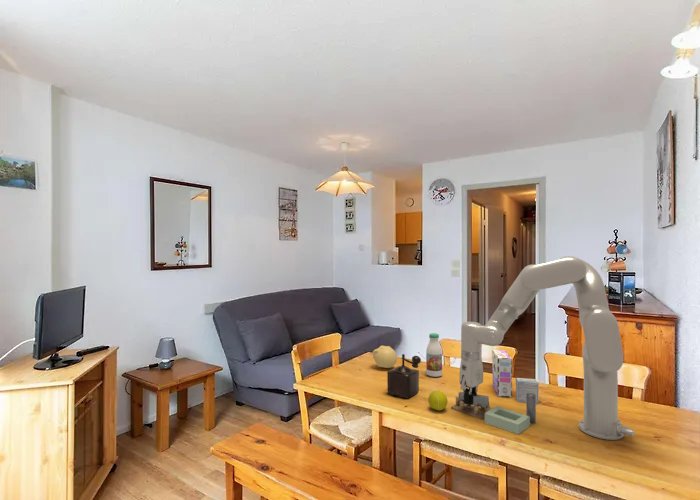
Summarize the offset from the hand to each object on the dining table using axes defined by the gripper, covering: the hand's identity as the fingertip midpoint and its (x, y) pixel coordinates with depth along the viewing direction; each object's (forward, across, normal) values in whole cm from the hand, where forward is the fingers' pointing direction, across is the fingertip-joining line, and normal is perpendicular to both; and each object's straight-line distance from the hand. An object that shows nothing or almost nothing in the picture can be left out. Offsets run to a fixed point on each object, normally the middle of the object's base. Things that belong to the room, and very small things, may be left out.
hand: (470, 402), depth 145 cm
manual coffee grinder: (+4, -4, +27) cm, 28 cm away
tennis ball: (+4, -8, +9) cm, 13 cm away
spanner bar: (0, 0, -2) cm, 2 cm away
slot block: (+3, -1, -15) cm, 15 cm away
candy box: (+3, +28, +1) cm, 28 cm away
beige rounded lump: (+5, +17, +60) cm, 62 cm away
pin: (+3, +7, -20) cm, 21 cm away
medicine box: (+3, +25, -11) cm, 27 cm away
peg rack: (+3, 0, -1) cm, 3 cm away
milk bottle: (+4, +25, +34) cm, 43 cm away
